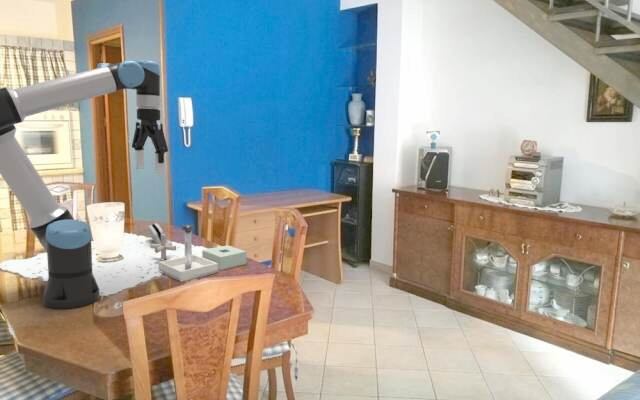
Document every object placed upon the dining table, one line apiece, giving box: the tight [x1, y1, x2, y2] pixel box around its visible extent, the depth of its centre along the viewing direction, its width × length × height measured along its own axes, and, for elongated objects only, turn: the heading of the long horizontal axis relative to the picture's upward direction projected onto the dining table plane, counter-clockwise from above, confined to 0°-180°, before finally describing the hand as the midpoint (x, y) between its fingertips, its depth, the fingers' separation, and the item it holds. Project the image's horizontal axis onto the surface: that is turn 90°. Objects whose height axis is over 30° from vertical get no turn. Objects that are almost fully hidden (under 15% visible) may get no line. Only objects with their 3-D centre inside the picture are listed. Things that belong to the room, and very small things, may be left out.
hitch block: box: [201, 244, 247, 271], centre depth 183 cm, size 12×12×5 cm
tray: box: [158, 254, 219, 283], centre depth 172 cm, size 15×15×4 cm
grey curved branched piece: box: [147, 222, 170, 244], centre depth 207 cm, size 17×5×10 cm, turn 31°
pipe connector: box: [150, 233, 177, 260], centre depth 184 cm, size 10×10×10 cm
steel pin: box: [181, 224, 195, 270], centre depth 170 cm, size 4×4×16 cm
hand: (149, 170), depth 164 cm, fingers open, 13 cm apart
